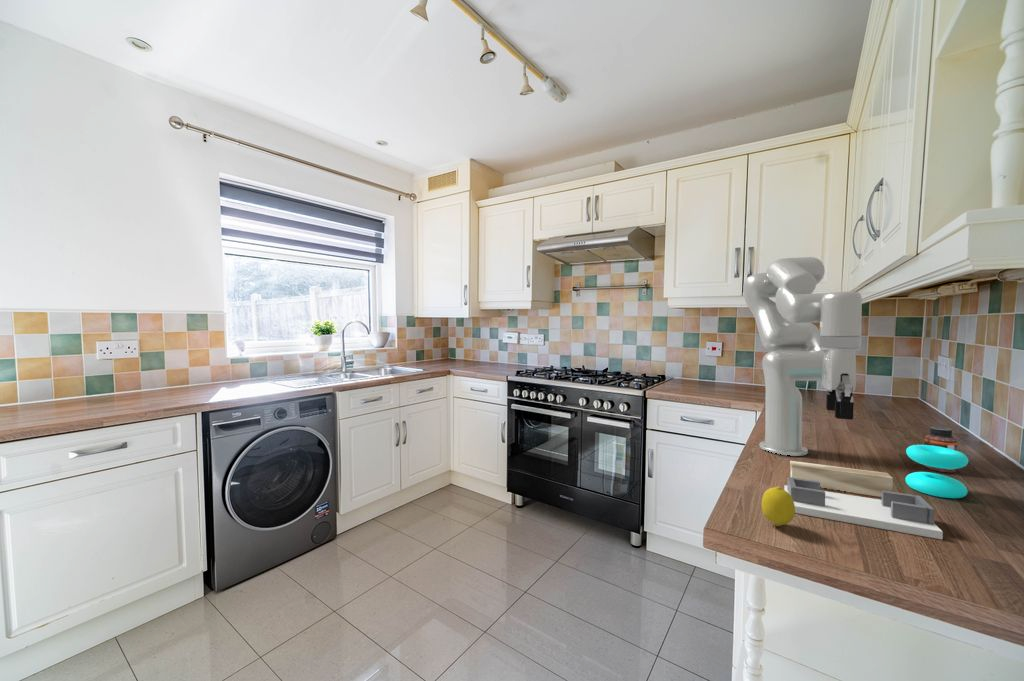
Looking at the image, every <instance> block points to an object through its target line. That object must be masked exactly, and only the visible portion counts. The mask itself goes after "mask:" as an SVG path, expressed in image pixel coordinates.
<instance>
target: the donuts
mask: <svg viewBox="0 0 1024 681" xmlns="http://www.w3.org/2000/svg"><path fill="white" fill-rule="evenodd" d="M905 450H906V451H905V452H906V455H907V457H908V458H909V459H911V460H912V461H914V462H916V463H918V464H921V465H923V466H924V465H927V466H931V467H936V468H943V469H956V470H957V469H962V468H964V467H966V466H967V465H968V464H969V458H968V456H967V455H966V454H965V453H963V452H962V451H958V450H957V451H956V450H953V449H949V448H944V447H938V446H931V445H924V444H912V445H910V446H908V447H907V448H906V449H905ZM905 483H906V485H907V486H908V487H909V488H911V489H913V490H914V491H918V492H919V493H921V494H922V493H923V494H925V495H928V496H933V497H938V498H945V499H961V498H964V497H966V496H967V495H968V488H967V486H966V485H965V484H964V483H963V482H961V481H960V480H957V479H955V478H954V477H950V476H948V475H945V474H942V473H941V474H940V473H936V472H928V471H916V472H915V471H914V472H912V473H909V474H907V475H906V476H905Z"/></svg>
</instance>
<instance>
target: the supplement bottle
mask: <svg viewBox="0 0 1024 681" xmlns="http://www.w3.org/2000/svg"><path fill="white" fill-rule="evenodd" d="M923 445H931V446H938V447H944V448H949V449H953V450H956V451H958V440H957V439H956V438H955V437H954V435H953V429H952V428H948V427H943V426H930V427H929V433H927V434H925V436H924V444H923ZM923 466H924V467H925V468H926V469H928V470H932V471H935V472H940V473H945V472H946V473H945V474H947V473H948V474H953V473H956V471H957V469H943V468H936V467H931V466H927V465H923Z"/></svg>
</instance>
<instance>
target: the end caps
mask: <svg viewBox="0 0 1024 681" xmlns="http://www.w3.org/2000/svg"><path fill="white" fill-rule="evenodd" d="M786 477H787V484H786V485H787V490H788V493H789V494H790V495H791V497H792V499H793V501H795V502H801V503H807V504H813V505H819V506H825V491H826V490H822V489H821V488H820V482H819V481H814V480H807V479H800V478H793V477H790V476H786ZM880 498H881V499H880V500H881V504H882V506H886V507H891V517H892V518H896V519H902V520H908V521H914V522H920V523H926V524H932V525H934V523H935V508H933V507H932V506H931V505H930V504H929V503H928V502H927V501H926V500H925V499H924V498H923V497H922V496H921V495H917V494H911V493H902V492H895V491H892V492H890V491H883V490H882V497H880Z"/></svg>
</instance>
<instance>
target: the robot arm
mask: <svg viewBox="0 0 1024 681" xmlns="http://www.w3.org/2000/svg"><path fill="white" fill-rule="evenodd" d="M825 271H826V270H825V265H824V263H823V261H821V260H820V259H819V258H817V257H814V256H813V257H812V256H809V257H808V256H807V257H787V258H780V259H776V260H774V261H773V262H771V263H770V264H769V265H768V266H767V268H766V272H759V273H754V274H751V275H750V276H748V277H747V278H746V279H745V280H744V283H743V288H742V289H743V296H744V300H745V302H746V305H747V307H748V309H749V311H750V312H751V313H752V315H753V317H754V320H755V324H756V327H757V331H758V335H759V339H760V341H761V344H762V346H763V347H764V348H765V349H766V350H768V351H769V352H767V353H766V354H765V355H764V356H763V357H762V362H761V364H762V366H761V367H762V371H763V377H764V385H765V386H764V387H765V398H764V399H765V408H764V409H765V415H764V416H765V421H764V422H765V424H764V425H765V428H764V430H765V431H764V432H765V433H764V440H763V441H760V442H759V449H761V450H763V451H765V450H766V451H765V452H768V451H769V453H771V452H772V454H775V453H777V454H776V455H780V454H781V455H780V456H787V455H790V456H791V457H804V456H806V455H807V454H809V450H808V448H807V447H806V446H803V445H802V442H803V441H802V440H803V439H802V438H803V436H802V435H803V434H802V432H803V429H802V428H803V395H802V393H801V391H800V389H799V388H798V387H797V386H796V384H794V382H801V381H802V382H821V387H823V388H824V389H826V406H825V407H826V410H827V411H833V412H834V418H835V419H837V420H838V419H839V420H854V404H855V403H854V395H853V394H854V392H855V391H856V386H857V385H856V383H857V365H856V364H857V362H856V360H857V359H856V358H857V356H856V351H857V352H858V351H861V350H862V320H863V319H862V317H863V316H862V311H863V310H862V308H863V307H862V306H863V305H862V304H863V302H862V301H863V300H862V299H863V297H862V295H861V294H860V293H859V292H856V291H835V292H827V293H813V292H814V291H815V290H816V287H817V285H818V284H819V283H821V281H822V280H823V279H824V277H825ZM771 298H775V300H774V301H773V299H771ZM813 323H816V324H817V323H820V330H819V328H818V327H817V326H816V325H815V324H813ZM790 456H789V457H790Z"/></svg>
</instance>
